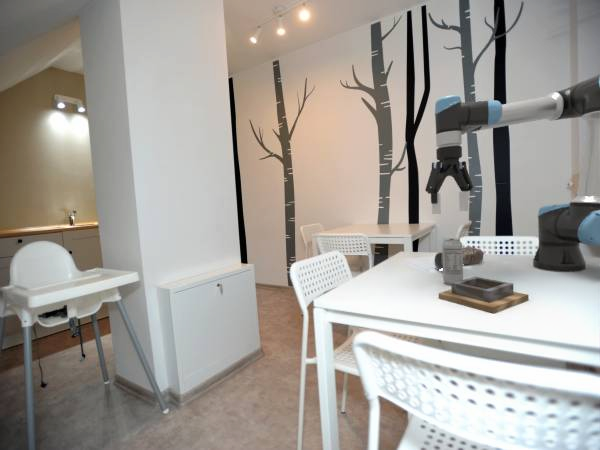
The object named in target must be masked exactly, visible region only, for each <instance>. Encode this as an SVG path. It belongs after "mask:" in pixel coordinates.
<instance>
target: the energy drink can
mask: <svg viewBox="0 0 600 450" xmlns="http://www.w3.org/2000/svg"><path fill="white" fill-rule="evenodd" d="M441 248H442V251H441V252H442V254H443V272H442V279H443V282H444V285H445V284H446V285H448V286H451V283H454V282H457V281H461V280H464V265H463V254H462V248H463V243H462V241H461V238H459V237H447V238H443V242H442V245H441Z"/></svg>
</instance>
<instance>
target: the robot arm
mask: <svg viewBox="0 0 600 450" xmlns="http://www.w3.org/2000/svg"><path fill="white" fill-rule="evenodd" d="M434 117H435V118H434V120H435V121H434V123H435V136H436V137H435V141H436V143H435V144H436V145H435V147H436V148H437V149H436V160H437V161H433V162H432V163H431V170H430V173H429V178H428V180H427V183H426V186H425V192H427V194H430V203H431V214H432V215H441V214H442V209H441V207H442V203H441V193H440V192H439V191H440V190H441V188H442V186H443V184H444V182H445V180H446V178H447V177H452V178H453V180H454V181H455V183H456V185H457V186H458V188H459V189H460V191H459V192H458V196H459V197H458V199H459V200H458V202H459V205H458V206H459V211H460V212H467V211H469V192H470V191H471V192H472V189H473V188H474V186H473V183H472V180H471V177H470V174H469V170H468V169H467V161H466V160H465V161H460V159H461V158H462V157H463V147H462V146H461V145H462V144H463V137H462V135H464V134H468V133H474V132H479V131H483V130H491V129H495V128H501V127H502V128H503V127H507V126H512V125H518V124H524V123H528V122H535V121H540V120H548V121H553V122H554V121H558V120H566V119H577V118H581V119H582V120H584V122H586V127H585V134H584V141H583V149H582V157H581V164H580V171H579V177H578V185H577V191H576V192H577V193H576V196H575V198H573V199H571V200H570V201H569V203H561V204H560V203H558V204H550V205H544V206H541V207H540V208H539V209H538V212H537V213H538V214H537V220H538V223H537V227H538V231H537V232H538V247H537V250H536V252H535V255H534V258H533V259H532V260H533V261H532V267H534V268H536V269H540V270H545V271H552V272H581V271H585V270H587V264H586V263H587V261H586V260H585V258H584V256H583V253H582V251H581V249H580V244H583V245H587V246H600V74H597V75H595V76H593V77H590V78H588V79H585V80H583V81H580V82H578V83H576V84H574V85H571V86H570V87H567V88H564V89H562V90H558V91H552V92H549V94H547V95H546V96H542V97H541V96H540V97H536V98H531V99H525V100H520V101H515V102H509V103H505V104H504V103H503V104H502V103H501V102H500V101H499V100H490V99H487V100H482V101H481V100H480V101H468V102H464V101H463V102H462V99H461V96H460V95H457V94H456V95H452V94H451V95H447V96H442V97H440V98H438V99H437V100H436V101H435V108H434Z"/></svg>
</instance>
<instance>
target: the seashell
mask: <svg viewBox="0 0 600 450" xmlns="http://www.w3.org/2000/svg"><path fill="white" fill-rule="evenodd" d="M462 254H463V261H464V264H465V265H472V264H476V263H481V262H482V261H483V259H484V254H485V253H484V251H483V250H482V249H481V248H479V249H478V248H477V247H472V246H465V247H462ZM465 265H464V266H465Z"/></svg>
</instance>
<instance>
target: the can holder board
mask: <svg viewBox="0 0 600 450" xmlns="http://www.w3.org/2000/svg"><path fill="white" fill-rule="evenodd" d="M450 286H451V289H448V290H445V291H441V292H439V293H438V299H440V300H442V301H443V300H444V301H447V302H451V303H455V304H458V305H463V306H466V307H468V308H473V309H475V310H476V309H477V310H480V311H484V312H487V313H491V314H495V313H498V312H501V311H503V310H506V309H509V308H511V307H514V306H516V305H519V304H521V303H525V302H526V301H530V300H529V294H526V293H522V292H518V291H514V283H513V282H512V283H511V282H506V281H500V280H495V279H492V278H491V279H489V278H484V277H479V276H473V277H468V278H466V279H465V278H464V279H463V280H461V281H457V282H454V283H451V285H450Z"/></svg>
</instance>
